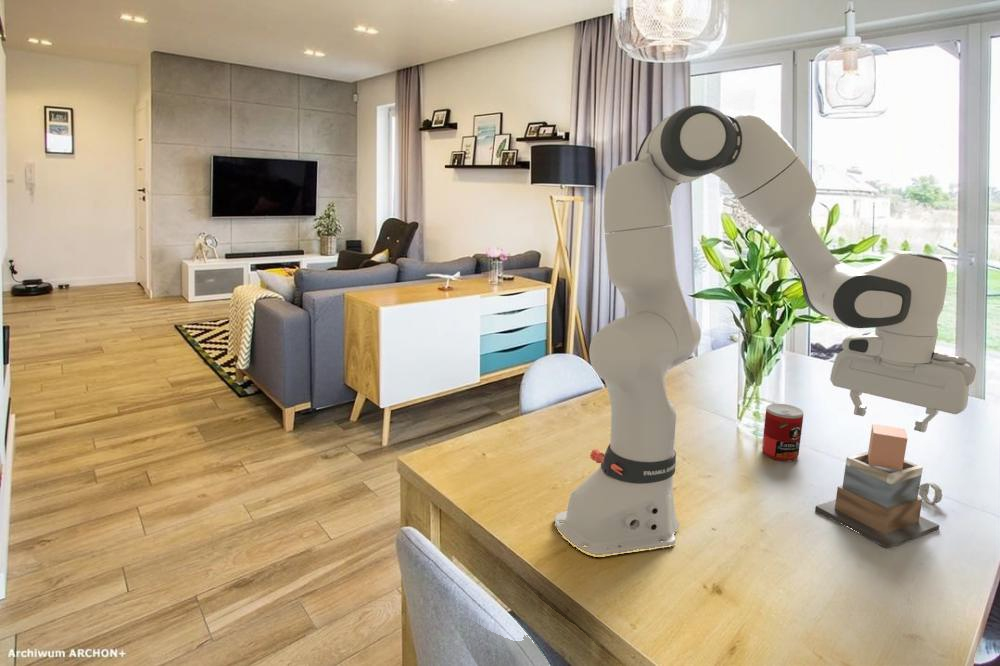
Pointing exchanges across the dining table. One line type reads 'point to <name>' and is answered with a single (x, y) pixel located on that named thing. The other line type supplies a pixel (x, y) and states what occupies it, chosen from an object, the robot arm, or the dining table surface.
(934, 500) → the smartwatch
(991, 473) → the dining table surface
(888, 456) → the light orange block
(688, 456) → the dining table surface
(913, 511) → the stacked open-top box
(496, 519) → the dining table surface
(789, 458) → the canned food
